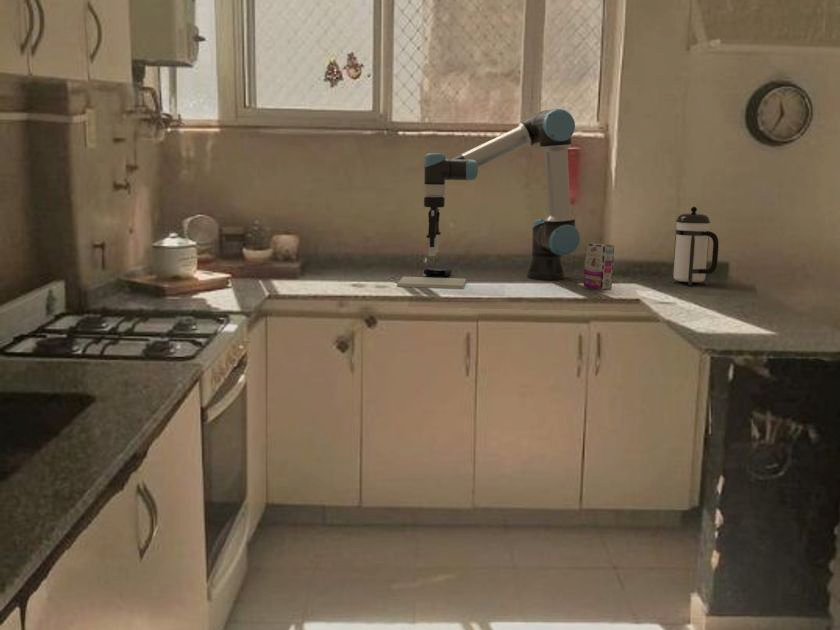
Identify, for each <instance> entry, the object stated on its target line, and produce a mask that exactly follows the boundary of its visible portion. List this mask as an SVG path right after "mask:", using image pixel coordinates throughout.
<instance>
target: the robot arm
mask: <svg viewBox="0 0 840 630" xmlns="http://www.w3.org/2000/svg"><path fill="white" fill-rule="evenodd" d="M517 125H518V126H517V127H515V128H513V129H510V130H509V131H507V132H505V133H503V134H500V135H499V136H496V137H494V138H492V139H489V140H488V141H485V142H483V143H482V144H480V145H477V146H475V147H473V148H471V149H470V150H466V151H465V152H463V153H461V154H459V155H457V156H454V157H453V158H446V155H445V153H427V154H425V157H424V166H423V167H424V168H423V169H424V181H423V182H424V186H422V190H424V191H423V192H424V195H425V196H424V198H423V206H424V207H425V208H429V209H430V210H429V211H428V213H427V216H428V231H427V232H428V234H427V235H426V238H427V239H428V240H427V241H428V244H427V246H428V247H427V248H428V250H427V251H428V252H427V256H428V257H436V255H437V253H439V247H440V246H439V243H440V242H439V241H440V239H439V237H440V236H441V234H442V233H441V231H440V227H439V226H440V225H439V224H440V216H441V212H439V211H440V209H439V208H445V201H446V200H445V197H444V196H445V194H446V180H447V181H474V180H476V179H477V177H478V173H479V168H481V167H483V166H485V165H487V164H489V163H491V162H493V161H494V162H495V161H496V160H498V159H500V158H502V157H504V156H506V155H509V154H511V153H513V152H515V151H517V150H519V149H521V148H523V147H525V146H526V147H531V146H533V145H536V144H539V148H540V149H541V150H542V151H543V152H544V153H543V154H544V167H545V168H544V170H545V188H546V189H545V190H546V208H547V216H545V218H539V219H535V220H534V221H533V225H532V228H531V229H532V241H531V243H532V245H531V246H532V247H531V259H530V260H529V261H530V262H529V264H528V267H527V270H526V277H527V278H529V279H535V280H536V279H537V280H563V279H566V271H565V267H564V263H563V259H562V256H568V255H571V254H572V253H574V252H575V251H576V250H577V249H578V247H579V245H580V242H581V235H580V231H579V230H578V229H577V227H576V218H575V216H573V214H572V212H571V196H570V194H571V193H570V177H569V176H570V175H569V174H570V173H569V153H568V152H569V151H568V150H569V149H570V148H571V146H572V136H573V135H574V133H575V130H576V123H575V119H574V117H573V115H572V114H571V113H570V112H569V111H567V110H565V109H561V108H552V109H547V110H542V111H539V112H538V113H536V114H534V115H532V116H531V117H529V118H527V119H525V120H524V121H521V122H520V123H518V124H517Z"/></svg>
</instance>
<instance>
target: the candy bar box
mask: <svg viewBox="0 0 840 630" xmlns="http://www.w3.org/2000/svg"><path fill="white" fill-rule="evenodd" d="M584 248H585V250H584V251H585V252H584V266H583V267H584V269H583V270H584V271H583V285H582V287H583V288H589V289H593V290H598V291H612V285H613V271H614V270H613V268H614V267H613V266H614V254H615V252H614V250H615V245H613V244H605V243H596V242H595V243H593V242H588V243H587V242H586V243H585V247H584Z"/></svg>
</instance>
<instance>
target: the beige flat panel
mask: <svg viewBox="0 0 840 630" xmlns="http://www.w3.org/2000/svg"><path fill="white" fill-rule="evenodd" d="M466 283H467V281H466V278H458V277H457V278H453V277H452V278H450V277H448V278H447V277H423V276H422V277H419V276H402V277H401V278H400V280H399V281H398V282H397V283H396V287H397V288H423V289H424V288H426V289H428V288H429V289H430V288H431V289H455V290H457V289H458V290H464V288H465V285H466Z"/></svg>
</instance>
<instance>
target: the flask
mask: <svg viewBox="0 0 840 630" xmlns="http://www.w3.org/2000/svg"><path fill="white" fill-rule="evenodd" d="M452 272H453V270H452V269H450V268H445V269H444V268H443V269H442V268H436V267H430V268H424V270H423V274H424V275H425V276H429V277H432V278H444V277H445V276H446V277H447V276H450V275H451V274H452ZM434 274H436V275H434Z"/></svg>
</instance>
